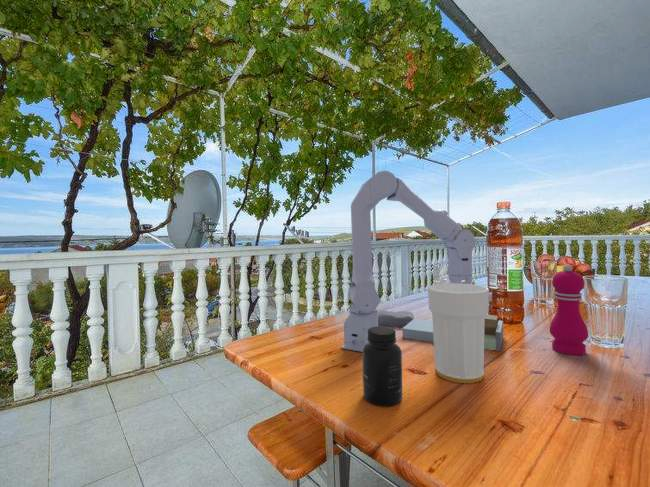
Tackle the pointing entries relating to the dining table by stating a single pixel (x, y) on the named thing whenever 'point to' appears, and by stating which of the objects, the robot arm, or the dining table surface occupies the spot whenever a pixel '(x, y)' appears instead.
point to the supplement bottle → (382, 367)
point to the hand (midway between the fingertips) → (461, 326)
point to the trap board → (425, 332)
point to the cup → (459, 330)
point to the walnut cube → (490, 325)
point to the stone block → (394, 318)
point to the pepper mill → (568, 314)
